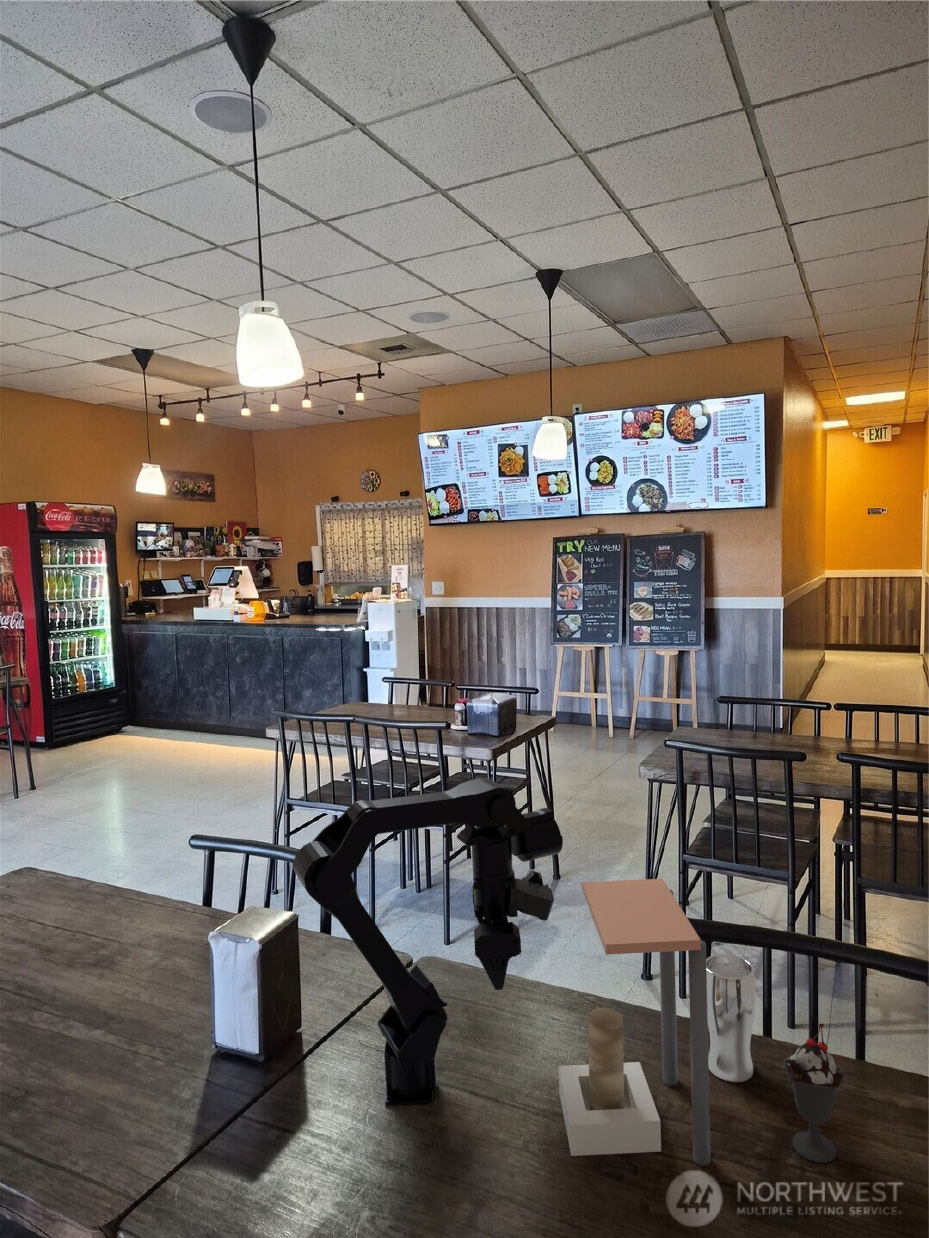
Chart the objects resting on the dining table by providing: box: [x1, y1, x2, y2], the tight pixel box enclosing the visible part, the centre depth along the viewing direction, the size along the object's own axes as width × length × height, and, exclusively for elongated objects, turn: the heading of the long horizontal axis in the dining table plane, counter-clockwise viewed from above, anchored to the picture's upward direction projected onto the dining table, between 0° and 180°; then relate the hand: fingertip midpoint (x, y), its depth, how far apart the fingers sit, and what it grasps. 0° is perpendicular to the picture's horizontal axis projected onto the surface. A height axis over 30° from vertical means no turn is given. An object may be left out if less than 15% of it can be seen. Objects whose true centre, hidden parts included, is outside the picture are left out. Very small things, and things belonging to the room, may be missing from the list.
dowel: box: [587, 1007, 625, 1111], centre depth 100 cm, size 4×4×13 cm
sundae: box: [783, 1023, 845, 1164], centre depth 94 cm, size 7×7×15 cm
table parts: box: [558, 878, 711, 1167], centre depth 100 cm, size 16×17×28 cm
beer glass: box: [706, 953, 757, 1083], centre depth 109 cm, size 7×7×15 cm
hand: (497, 971), depth 114 cm, fingers open, 9 cm apart
